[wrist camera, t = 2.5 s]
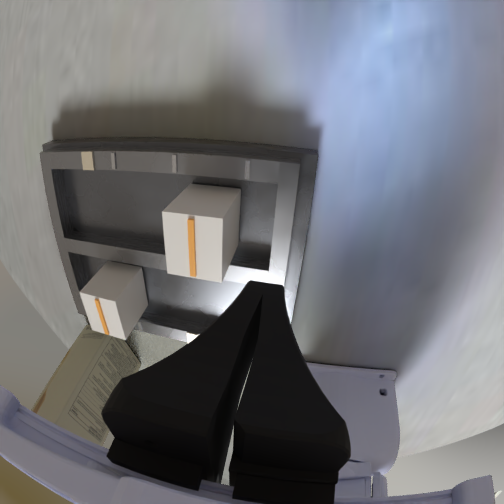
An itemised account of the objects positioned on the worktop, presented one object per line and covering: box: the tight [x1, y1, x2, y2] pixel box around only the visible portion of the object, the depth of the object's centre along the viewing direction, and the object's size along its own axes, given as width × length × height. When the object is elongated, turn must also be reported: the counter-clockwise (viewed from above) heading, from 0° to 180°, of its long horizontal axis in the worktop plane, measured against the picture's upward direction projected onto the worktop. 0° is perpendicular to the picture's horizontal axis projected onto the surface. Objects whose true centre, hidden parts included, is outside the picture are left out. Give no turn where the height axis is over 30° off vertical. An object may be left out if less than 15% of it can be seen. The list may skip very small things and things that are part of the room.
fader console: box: [40, 137, 318, 343], centre depth 21 cm, size 19×15×2 cm
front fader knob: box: [162, 184, 241, 283], centre depth 17 cm, size 3×4×4 cm
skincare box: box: [31, 325, 141, 447], centre depth 25 cm, size 6×4×12 cm
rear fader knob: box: [79, 261, 148, 340], centre depth 21 cm, size 3×4×4 cm
